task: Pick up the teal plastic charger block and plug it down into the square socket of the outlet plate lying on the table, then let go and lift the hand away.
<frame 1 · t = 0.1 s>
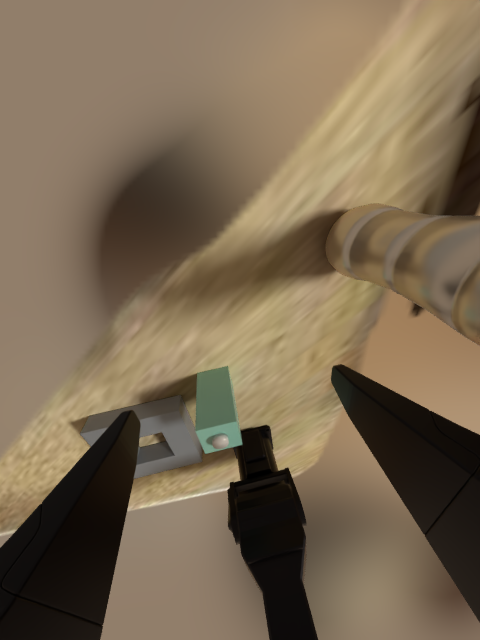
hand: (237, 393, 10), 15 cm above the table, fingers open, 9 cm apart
charger: (215, 380, 29), on the table
outlet plate: (151, 432, 31), on the table
plastic bottle: (346, 238, 22), on the table
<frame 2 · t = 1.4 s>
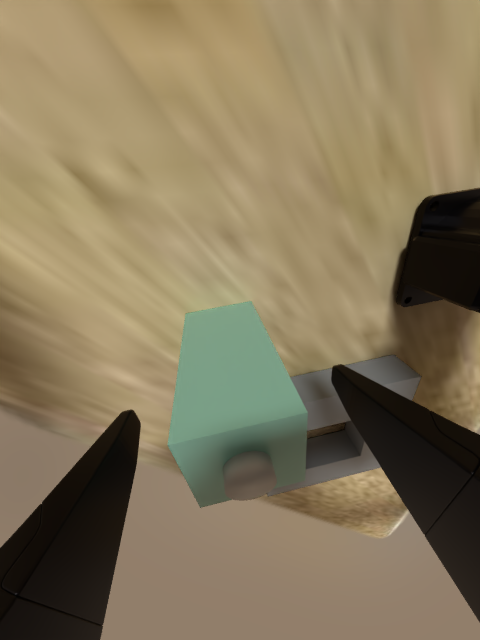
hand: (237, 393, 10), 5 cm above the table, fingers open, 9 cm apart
charger: (224, 334, 14), on the table
outlet plate: (319, 418, 20), on the table
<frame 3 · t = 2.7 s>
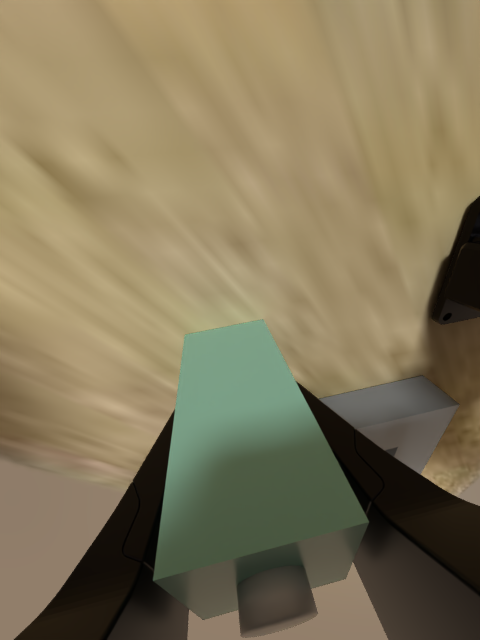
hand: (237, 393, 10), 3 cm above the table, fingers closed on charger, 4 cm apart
charger: (230, 357, 12), on the table, touching gripper
outlet plate: (334, 444, 18), on the table
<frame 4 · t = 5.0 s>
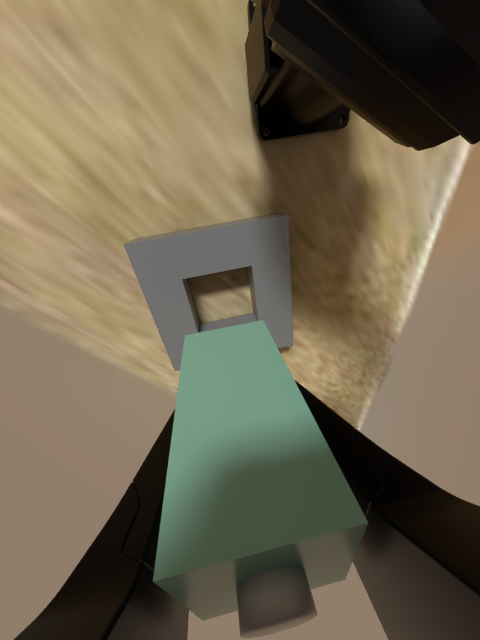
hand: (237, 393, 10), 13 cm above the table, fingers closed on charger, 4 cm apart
charger: (230, 358, 12), point 10 cm above the table, touching gripper
outlet plate: (221, 293, 21), on the table
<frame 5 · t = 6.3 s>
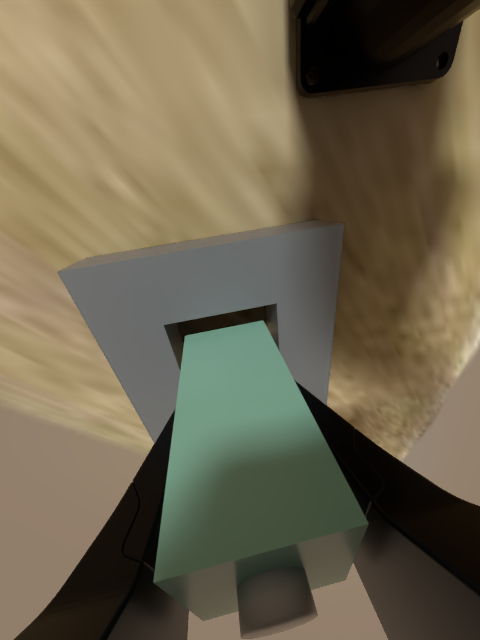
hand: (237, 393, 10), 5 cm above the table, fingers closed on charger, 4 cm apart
charger: (230, 358, 12), point 3 cm above the table, touching gripper
outlet plate: (225, 334, 14), on the table
when the fingers open (3 cm above the table, at t = 7.4 s): charger stays where it is, resting in outlet plate.
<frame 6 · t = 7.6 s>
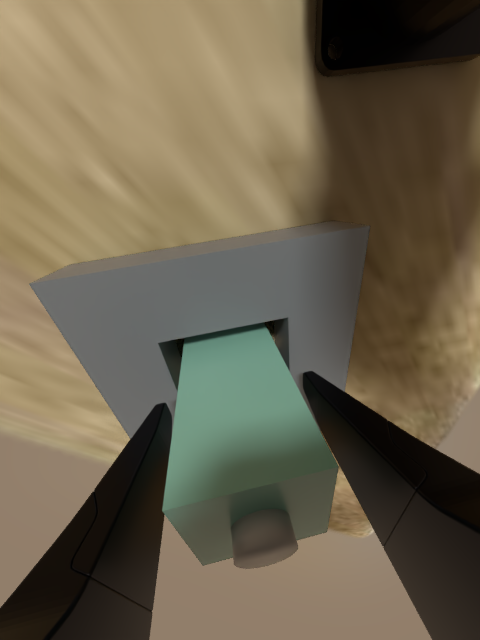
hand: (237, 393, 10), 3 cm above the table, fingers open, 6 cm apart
charger: (228, 347, 13), resting in outlet plate
outlet plate: (228, 347, 13), on the table
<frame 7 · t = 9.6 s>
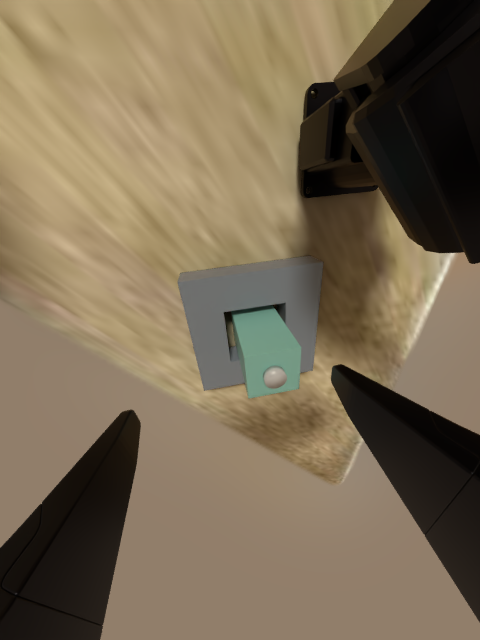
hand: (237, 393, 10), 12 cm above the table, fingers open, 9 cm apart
charger: (251, 321, 22), resting in outlet plate
outlet plate: (251, 321, 22), on the table
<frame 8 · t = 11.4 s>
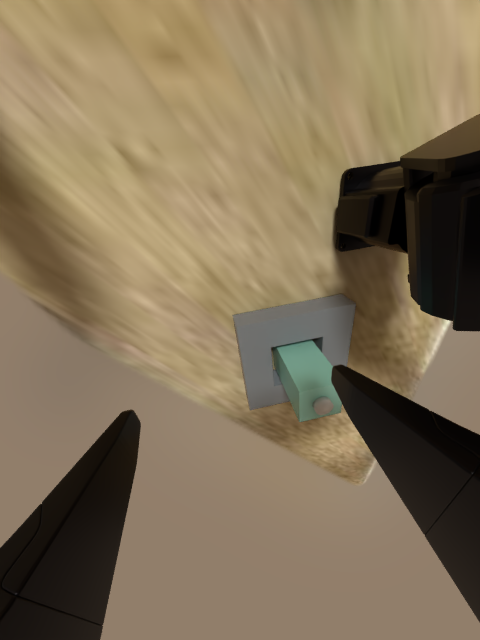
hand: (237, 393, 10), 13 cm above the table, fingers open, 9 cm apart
charger: (289, 349, 26), resting in outlet plate
outlet plate: (289, 349, 26), on the table
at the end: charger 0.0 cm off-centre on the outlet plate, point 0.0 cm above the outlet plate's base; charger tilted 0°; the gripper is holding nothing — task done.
